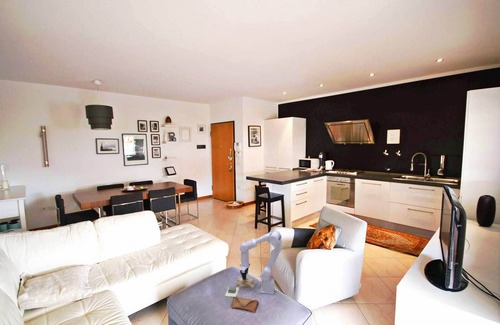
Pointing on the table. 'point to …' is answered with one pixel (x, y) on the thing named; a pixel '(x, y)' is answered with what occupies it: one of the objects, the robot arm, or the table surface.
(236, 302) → the sunglasses case
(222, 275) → the table surface
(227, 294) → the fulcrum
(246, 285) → the beige piece
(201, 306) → the table surface
